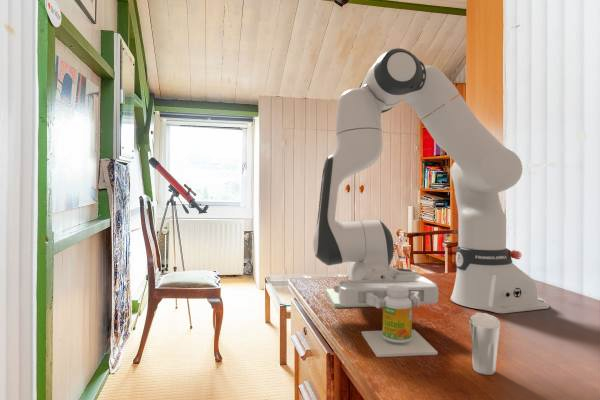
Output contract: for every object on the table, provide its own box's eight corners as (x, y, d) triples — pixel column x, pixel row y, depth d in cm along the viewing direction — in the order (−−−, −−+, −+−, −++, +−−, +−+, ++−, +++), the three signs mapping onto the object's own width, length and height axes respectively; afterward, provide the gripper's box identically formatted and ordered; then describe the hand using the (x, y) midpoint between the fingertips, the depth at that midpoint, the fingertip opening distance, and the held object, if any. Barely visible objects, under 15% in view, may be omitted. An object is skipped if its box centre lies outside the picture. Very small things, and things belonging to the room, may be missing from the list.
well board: (374, 291, 114) (374, 287, 114) (390, 306, 100) (390, 302, 100) (325, 292, 112) (325, 288, 112) (334, 307, 98) (334, 303, 98)
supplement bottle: (379, 340, 75) (380, 289, 74) (385, 331, 80) (385, 282, 79) (409, 345, 73) (410, 292, 72) (413, 335, 78) (414, 285, 77)
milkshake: (458, 364, 67) (459, 305, 67) (489, 363, 68) (490, 305, 67) (472, 377, 63) (473, 314, 62) (505, 376, 63) (506, 313, 63)
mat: (414, 331, 82) (414, 329, 82) (437, 354, 71) (437, 351, 71) (361, 333, 81) (361, 331, 81) (376, 357, 70) (376, 354, 70)
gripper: (331, 271, 88) (344, 288, 74) (422, 269, 90) (451, 285, 76) (331, 300, 88) (344, 322, 74) (422, 297, 90) (450, 318, 76)
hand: (398, 303), depth 75 cm, fingers closed on supplement bottle, 5 cm apart
